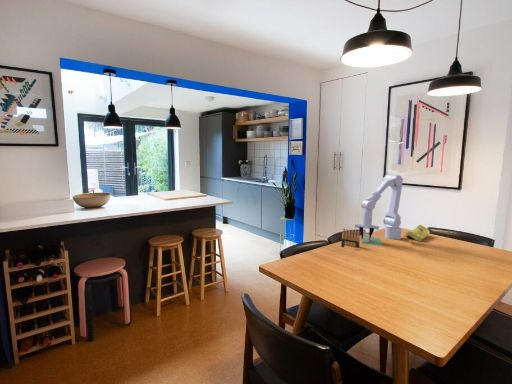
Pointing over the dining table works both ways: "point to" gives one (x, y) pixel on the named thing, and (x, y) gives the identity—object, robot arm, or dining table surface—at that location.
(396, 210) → the robot arm
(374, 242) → the header board
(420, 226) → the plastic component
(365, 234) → the plug housing
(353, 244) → the ammunition clip
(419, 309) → the dining table surface
